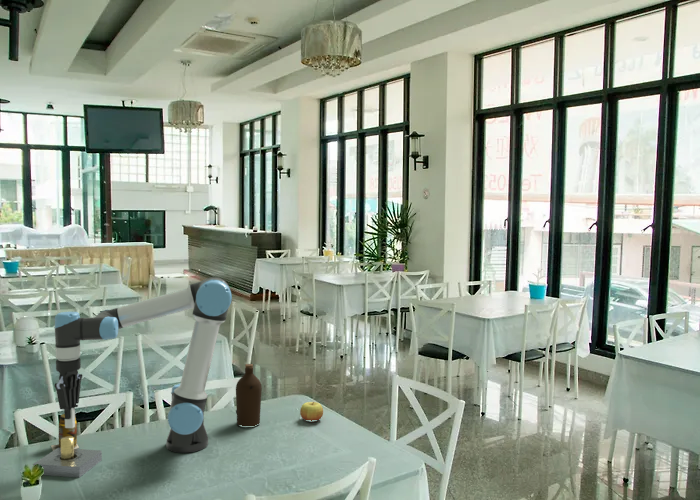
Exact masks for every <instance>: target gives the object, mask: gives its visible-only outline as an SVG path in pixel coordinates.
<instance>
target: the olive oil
mask: <svg viewBox="0 0 700 500" xmlns="http://www.w3.org/2000/svg"><path fill="white" fill-rule="evenodd" d="M244 366H245V367H244V374H243V375H242V376H241V377H240V378H239V379H238V381H237V383H236V385H235V402H236V403H235V405H236V407H235V408H236V410H235V414H236V425H237V424H238V425H242V426H255V425H257V424H259V423H260V424H261V404H262V392H263V391H262V390H263V386H262V382H261V380H260V379H259V378H258V377H257V376H256V374H254V364H253V363H246V364H245V365H244ZM260 424H259V425H260ZM238 425H237V426H238Z"/></svg>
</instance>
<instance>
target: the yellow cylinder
mask: <svg viewBox="0 0 700 500" xmlns="http://www.w3.org/2000/svg"><path fill="white" fill-rule="evenodd" d="M71 459H74V437H72V436H67V437H63V438H61V460H71Z"/></svg>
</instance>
